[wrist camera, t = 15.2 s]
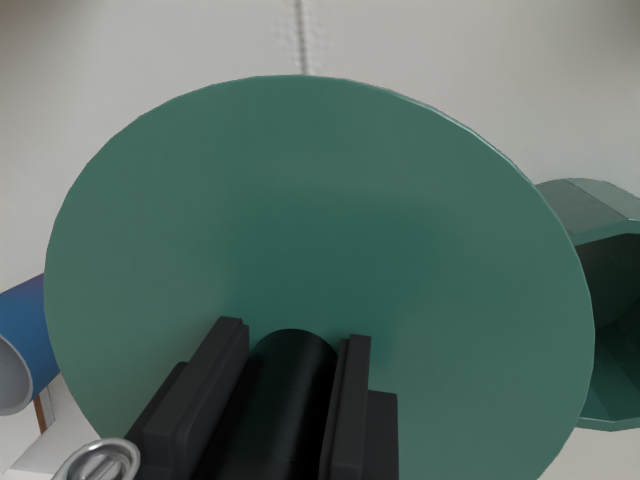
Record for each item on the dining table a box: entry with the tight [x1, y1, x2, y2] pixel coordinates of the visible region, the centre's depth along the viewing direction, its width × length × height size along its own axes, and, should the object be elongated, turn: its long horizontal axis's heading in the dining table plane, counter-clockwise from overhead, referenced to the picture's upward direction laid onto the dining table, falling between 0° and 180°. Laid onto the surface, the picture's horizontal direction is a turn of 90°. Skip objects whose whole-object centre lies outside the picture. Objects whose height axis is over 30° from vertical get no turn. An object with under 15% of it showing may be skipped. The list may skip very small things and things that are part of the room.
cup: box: [0, 273, 61, 416], centre depth 33 cm, size 7×7×15 cm
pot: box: [535, 178, 640, 432], centre depth 29 cm, size 14×14×10 cm
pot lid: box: [43, 74, 595, 480], centre depth 10 cm, size 15×15×6 cm
